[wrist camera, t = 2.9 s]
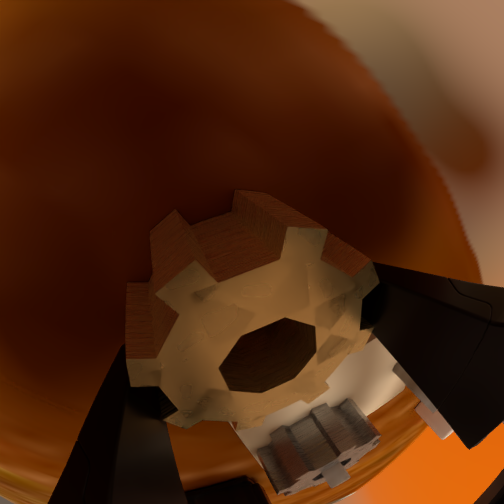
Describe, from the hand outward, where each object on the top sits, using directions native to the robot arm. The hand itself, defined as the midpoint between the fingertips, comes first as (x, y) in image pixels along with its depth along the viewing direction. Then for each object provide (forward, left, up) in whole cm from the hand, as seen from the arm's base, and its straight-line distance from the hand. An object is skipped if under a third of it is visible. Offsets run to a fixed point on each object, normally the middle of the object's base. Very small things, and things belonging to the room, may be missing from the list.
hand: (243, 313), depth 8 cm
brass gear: (0, 0, -1) cm, 1 cm away
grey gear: (+1, -11, 0) cm, 11 cm away
